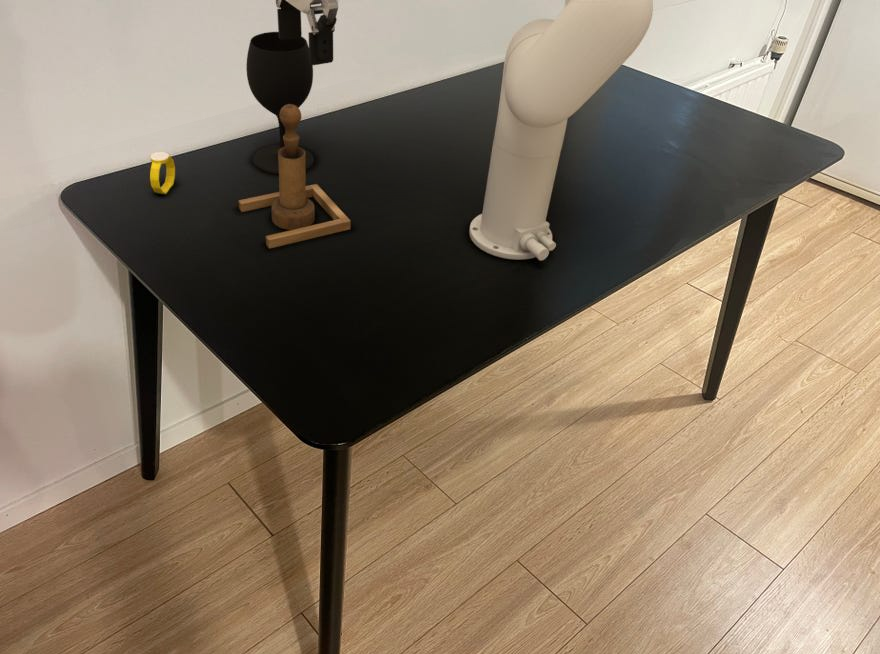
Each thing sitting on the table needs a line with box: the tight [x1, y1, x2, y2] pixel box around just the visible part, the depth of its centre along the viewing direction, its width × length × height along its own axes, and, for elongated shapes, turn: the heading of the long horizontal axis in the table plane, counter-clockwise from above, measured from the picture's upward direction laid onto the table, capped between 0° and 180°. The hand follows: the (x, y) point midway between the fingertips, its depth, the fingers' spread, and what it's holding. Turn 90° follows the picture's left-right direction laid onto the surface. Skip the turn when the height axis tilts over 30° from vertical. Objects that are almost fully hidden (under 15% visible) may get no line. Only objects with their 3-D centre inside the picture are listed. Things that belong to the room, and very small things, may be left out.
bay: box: [238, 183, 352, 249], centre depth 119 cm, size 12×13×2 cm
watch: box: [149, 151, 176, 195], centre depth 121 cm, size 6×3×6 cm, turn 169°
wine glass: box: [245, 31, 315, 176], centre depth 126 cm, size 10×10×20 cm
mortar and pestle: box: [271, 104, 316, 231], centre depth 113 cm, size 7×6×18 cm
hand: (305, 50), depth 104 cm, fingers open, 9 cm apart
